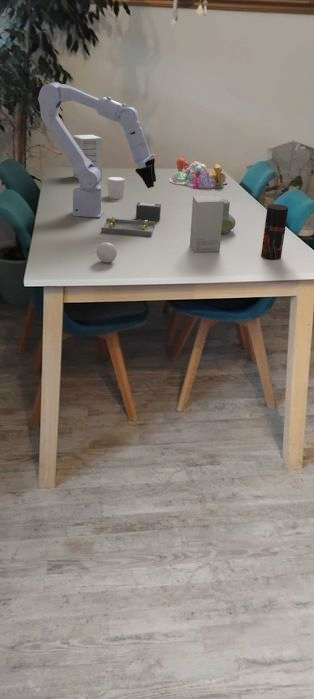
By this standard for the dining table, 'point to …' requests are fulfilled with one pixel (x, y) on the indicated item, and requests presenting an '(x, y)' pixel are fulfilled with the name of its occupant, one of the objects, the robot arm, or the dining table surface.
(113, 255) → the white sphere
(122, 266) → the dining table surface
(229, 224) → the air freshener
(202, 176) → the candy landscape model
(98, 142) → the supplement box
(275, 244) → the deodorant
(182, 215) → the dining table surface
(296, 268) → the dining table surface
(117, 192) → the white tapered cup
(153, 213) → the block
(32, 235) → the dining table surface
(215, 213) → the skincare box
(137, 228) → the tray
